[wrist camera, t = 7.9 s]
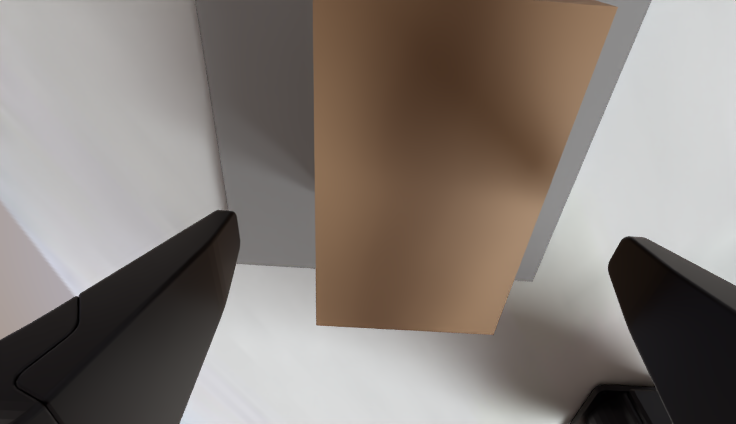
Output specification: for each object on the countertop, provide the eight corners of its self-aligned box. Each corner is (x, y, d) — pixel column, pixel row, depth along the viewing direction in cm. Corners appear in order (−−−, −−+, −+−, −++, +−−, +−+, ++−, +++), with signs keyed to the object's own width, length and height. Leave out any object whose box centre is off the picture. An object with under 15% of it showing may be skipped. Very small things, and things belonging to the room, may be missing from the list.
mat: (528, 273, 22) (532, 281, 22) (239, 256, 22) (236, 263, 21) (708, -165, 12) (722, -169, 11) (169, -217, 11) (159, -223, 11)
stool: (514, -23, 14) (618, 7, 8) (457, 215, 19) (493, 334, 14) (338, -37, 13) (312, -17, 8) (333, 208, 19) (316, 325, 13)
